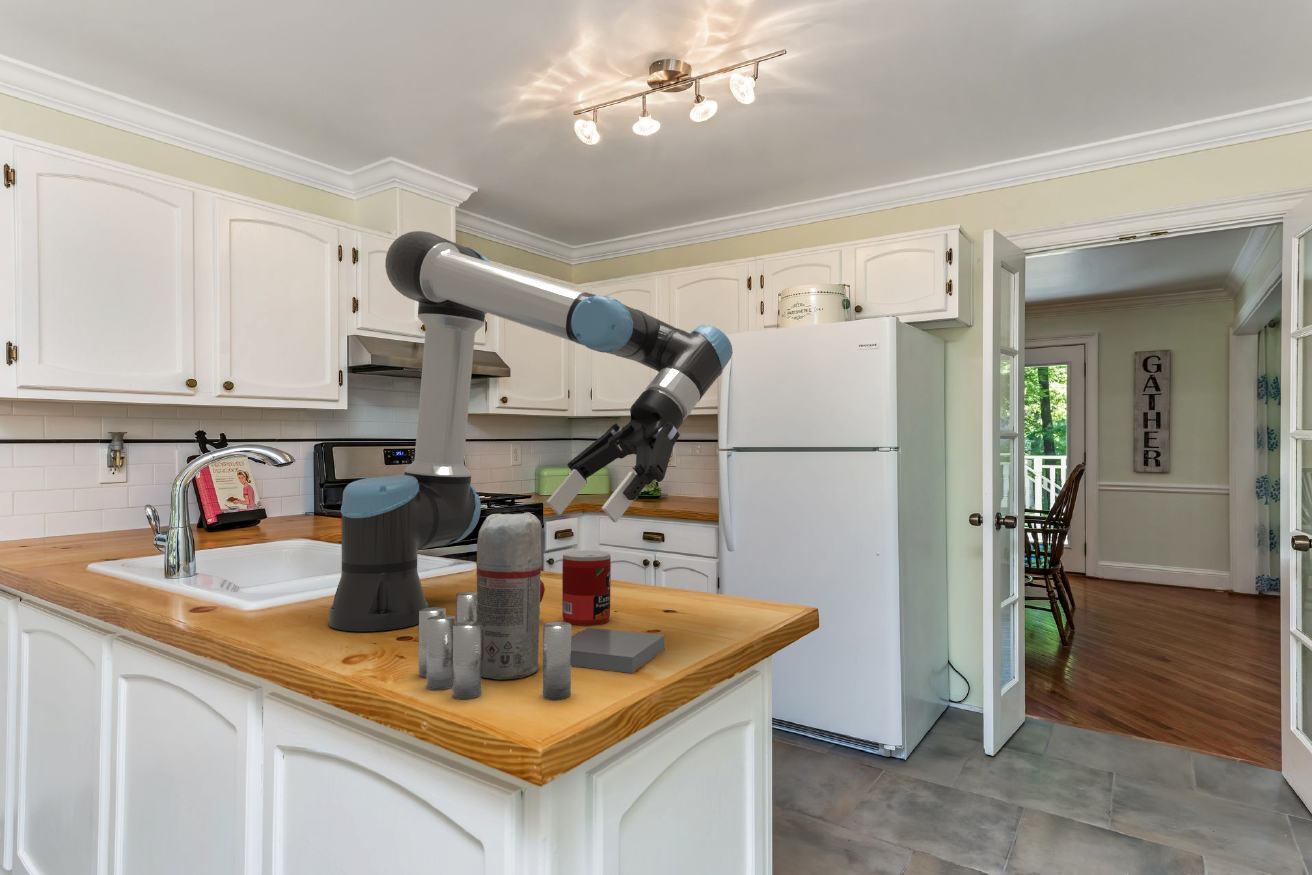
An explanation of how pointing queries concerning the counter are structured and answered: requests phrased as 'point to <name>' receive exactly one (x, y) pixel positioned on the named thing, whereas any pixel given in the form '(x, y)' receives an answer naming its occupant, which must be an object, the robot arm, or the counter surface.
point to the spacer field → (457, 651)
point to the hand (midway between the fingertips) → (579, 511)
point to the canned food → (586, 587)
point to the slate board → (614, 649)
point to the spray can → (509, 594)
